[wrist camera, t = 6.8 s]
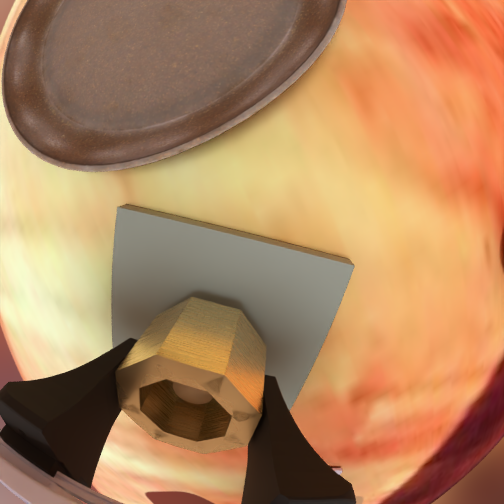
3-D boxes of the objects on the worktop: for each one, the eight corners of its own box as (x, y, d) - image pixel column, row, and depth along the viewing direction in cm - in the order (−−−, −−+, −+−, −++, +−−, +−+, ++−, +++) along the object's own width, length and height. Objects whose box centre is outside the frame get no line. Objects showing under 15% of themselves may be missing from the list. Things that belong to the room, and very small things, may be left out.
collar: (247, 397, 14) (239, 461, 10) (153, 370, 14) (122, 426, 10) (275, 318, 12) (275, 386, 8) (159, 286, 12) (112, 337, 8)
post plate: (282, 413, 17) (283, 469, 12) (120, 370, 17) (91, 417, 12) (349, 259, 14) (385, 303, 9) (126, 204, 13) (68, 223, 9)
